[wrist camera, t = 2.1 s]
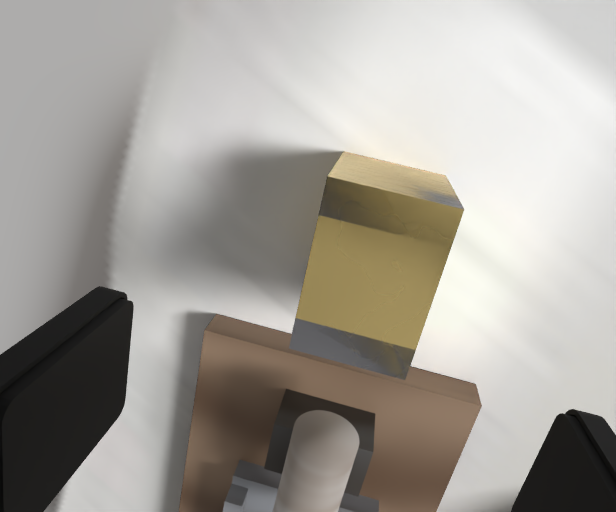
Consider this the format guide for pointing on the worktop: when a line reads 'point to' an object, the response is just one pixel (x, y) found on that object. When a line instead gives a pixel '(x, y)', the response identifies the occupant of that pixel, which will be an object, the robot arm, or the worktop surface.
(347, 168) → the coupler
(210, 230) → the worktop surface
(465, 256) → the worktop surface
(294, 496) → the rig
